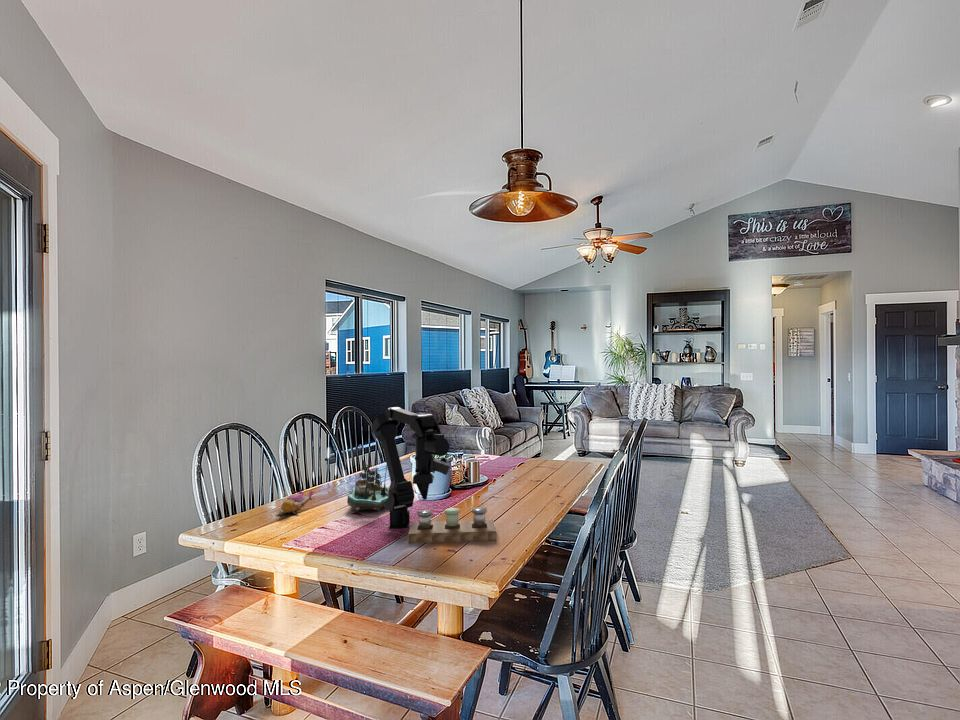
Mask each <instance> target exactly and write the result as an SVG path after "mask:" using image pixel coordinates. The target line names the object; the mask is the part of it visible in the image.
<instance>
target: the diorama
mask: <svg viewBox="0 0 960 720" xmlns="http://www.w3.org/2000/svg"><path fill="white" fill-rule="evenodd" d="M370 465H371V463H369V464H364V467H361V471H362V472H360V473H358V476H359V478H358V480H356V481H355V485H354V486H355V488H354V489H353V488H351V491H349V493H348V495H347V499H346V500H347V505H348V506H349V507H351V508H352V509H354V510H356V511H358V512H359V511H360V512H362V511H371V510H372V511H378V512H379V511H380V510H381V509H383V508H385V504H384V503H385V501H386V500H387V498H388V497H389V492H388V490H389V487H386V485H387V484H386V478H387V472H385V473H384V475H385V476H384V481H382V480H381V479H382V475H381V474H380V473H379V472H378V471H379V468H375V470H371V469H370ZM385 471H388V468H387V464H386V466H385ZM383 482H384V483H383ZM382 483H383V485H382Z"/></svg>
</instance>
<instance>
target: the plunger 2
mask: <svg viewBox="0 0 960 720" xmlns="http://www.w3.org/2000/svg"><path fill="white" fill-rule="evenodd" d="M487 512H488V509H487V508H486V507H482V506H478V507H473V508H471V513H472V514H473V515H472V517H473V520H472V521H473V524H474V525H484V524H485V520H486V513H487Z"/></svg>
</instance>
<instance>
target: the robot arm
mask: <svg viewBox="0 0 960 720" xmlns="http://www.w3.org/2000/svg"><path fill="white" fill-rule="evenodd" d="M400 423H401V424H405V425H407V426H409V429H410V430H412V431H413V432H414V433H412V435H411V438H413V439H414V443H415V444H414V445H415V451H414V453H415V455H414V461H415V468H414V473H415V474H413V476H412V481H411V480H407V479H406V477H405V474H404V471H403V466H402V463H401V459H400V454H399V450H398V448H397V443H396V437H397V434H398V426H399V425H400ZM371 430H372V432H373V434H374V437H375V438H376V439H377V440H378V441H379V442H380V444H381V446H382V450H383V455H384V459H385V463H386V465H387V472H388V475H389V480H390V484H389V487H388V488H389V490H388V492H389V497H388V498H387V500H386V501H385V503H384V504H385V507H384V509H385V510H387V511H389V525H388V528H389V529H401V528H403V529H404V528H405V529H406V528H408V527H409V525H411V524H410V523H411V511H410V510H409V508H412V507H413V506H414V505H413V504H414V501H415V490H414V488H413V484H414V485H416V486H417V489H418V491H419V493H420V495H421V498H422V500H424V501H425V500H427V499H428V494H429V488H430V484H434V483H433V482H434V478H435V476H434V475H433V474H435V473H436V472H437V473H441V474H443V475H444V476H447V475H448V473H449V470H450V467H451V464H450V462H448V459H447V458H446V457H444V456H446V455H447V454H448V453H449V450H450V443H449V440H448V439H446V438H445V434H443V433H442V432H441V428H440V427H439V425H438V423H437V421H436V418H435V416H434V415H433V414H432V413H416V412H413V411H409V410H407V409H403V408H401V407H399V406H394V407H393V406H392V407H388V408H386V409H385V410H384V412H382V413H380V414H379V415H377V416H376V418H375V419H374V421H373V422H372V424H371ZM435 456H439V457H441V458H440V459H437V458H435Z"/></svg>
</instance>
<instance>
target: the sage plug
mask: <svg viewBox="0 0 960 720" xmlns="http://www.w3.org/2000/svg"><path fill="white" fill-rule="evenodd" d="M460 513H461V511H460V508H457V507H448V508H445V509H444V514H445V517H446V518H445V521H446V525H448V526H456V525H458V521H459V514H460Z"/></svg>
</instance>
